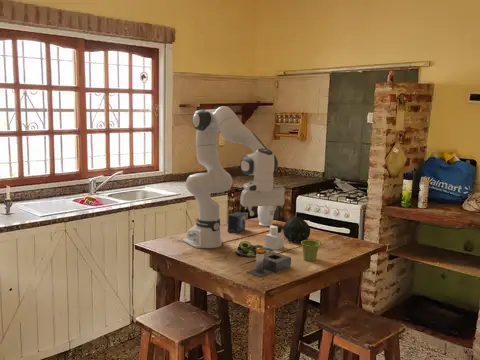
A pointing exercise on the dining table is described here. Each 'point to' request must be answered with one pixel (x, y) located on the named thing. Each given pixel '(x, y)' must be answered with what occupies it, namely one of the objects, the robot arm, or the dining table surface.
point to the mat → (259, 273)
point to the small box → (236, 222)
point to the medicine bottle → (275, 238)
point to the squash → (296, 229)
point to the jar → (265, 215)
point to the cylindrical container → (260, 260)
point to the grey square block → (276, 262)
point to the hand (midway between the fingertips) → (261, 215)
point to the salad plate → (250, 249)
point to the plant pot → (310, 249)
